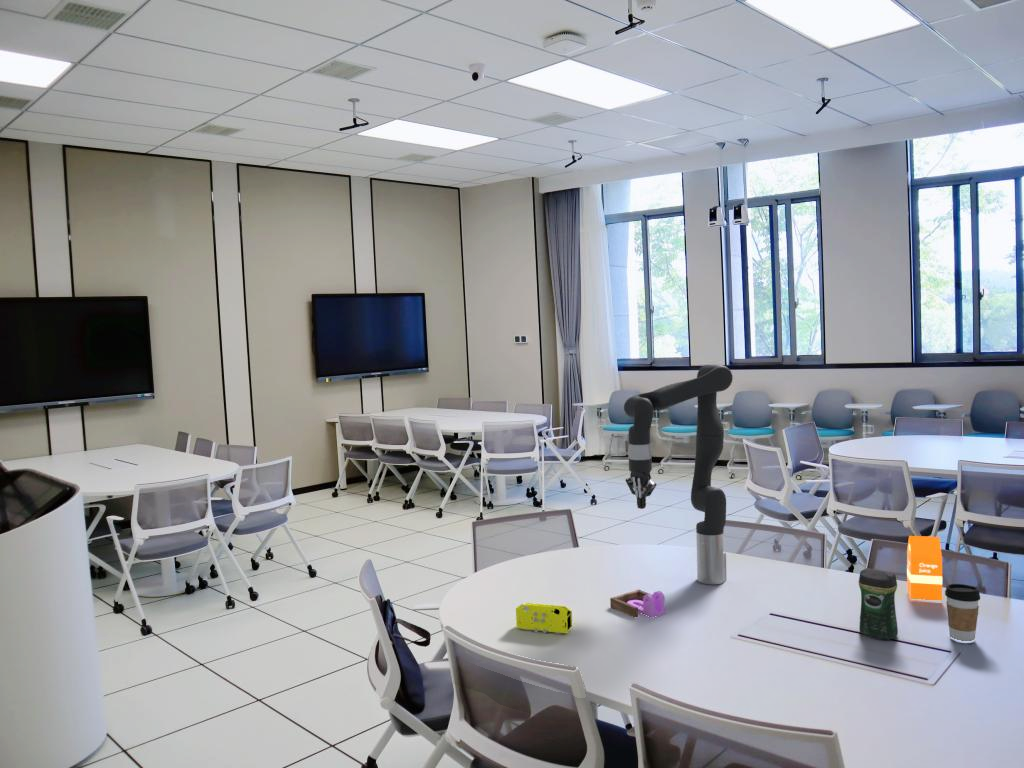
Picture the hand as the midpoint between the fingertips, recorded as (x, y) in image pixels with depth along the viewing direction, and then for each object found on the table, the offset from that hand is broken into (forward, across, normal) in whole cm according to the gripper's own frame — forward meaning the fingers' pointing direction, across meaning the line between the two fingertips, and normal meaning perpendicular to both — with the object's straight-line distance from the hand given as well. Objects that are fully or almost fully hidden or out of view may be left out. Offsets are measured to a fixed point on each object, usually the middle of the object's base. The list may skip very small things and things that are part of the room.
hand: (641, 508), depth 257 cm
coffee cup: (+29, -83, -41) cm, 97 cm away
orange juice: (+29, -60, -64) cm, 92 cm away
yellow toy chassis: (+29, -4, +44) cm, 53 cm away
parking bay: (+29, -9, +11) cm, 32 cm away
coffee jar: (+29, -67, -27) cm, 78 cm away
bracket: (+29, -11, +11) cm, 33 cm away
